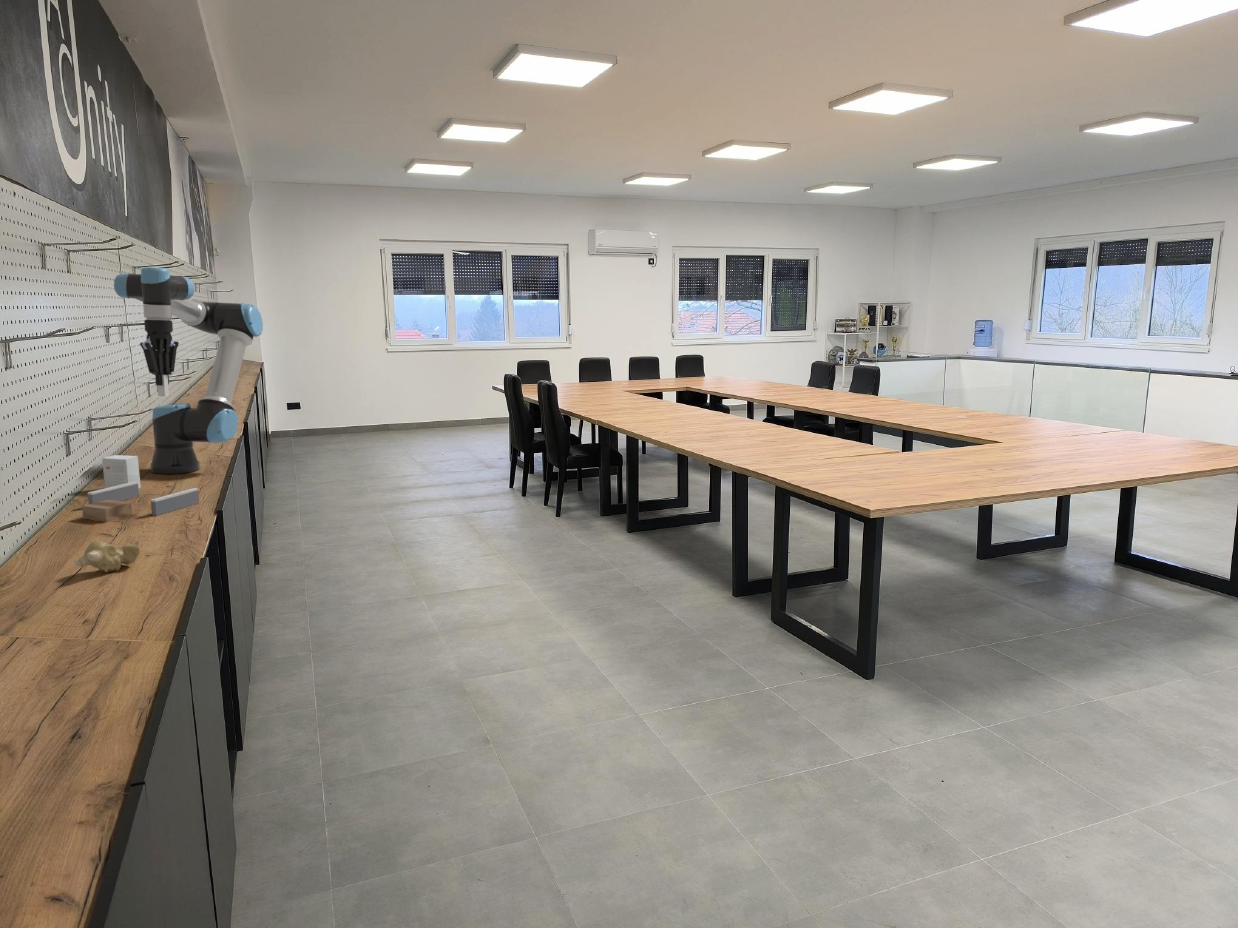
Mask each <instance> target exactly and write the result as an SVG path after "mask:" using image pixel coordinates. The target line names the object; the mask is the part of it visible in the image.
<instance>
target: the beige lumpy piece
mask: <svg viewBox="0 0 1238 928" xmlns="http://www.w3.org/2000/svg"><path fill="white" fill-rule="evenodd" d="M140 545H141V544H140V540H137V541H136V542H133V543H129V544H126V545H123V546H122V545H121V546H119V547H118V548H116V546H115V545H114V544H109V543H108V542H105V541H104V540H103V541H102V540H94V541H92V542H91V543H90V544H88V546H87V547H86V548H85V550H84V554H83V556H80V557H79V558H78V559H75V560H73V563H74V564H75V565H76V566H79V567H84V566H85V567H86V566H92V568H96V569H99V570H103V572H105V573H108V572H113V571H114V572H115V571H116V572H117V571H120V569H121V567H122V564H124V565H126V566H129V565H131V564H133V563H134V562H136V559H137V558H138V557H139V556H140V550H141V548H140V547H141V546H140Z"/></svg>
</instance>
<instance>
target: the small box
mask: <svg viewBox="0 0 1238 928" xmlns="http://www.w3.org/2000/svg"><path fill="white" fill-rule="evenodd" d="M101 459H102V460H101V461H102V470H103V480H104V489H105V488H109V487H113V486H117V485H122V484H126V483H130V482H138V488H139V490H140V489H141V479H140V477H141V476H140V468H139V467H140V466H139V457H138V455H124V454H123V455H121V454H114V455H109V456H105V457H103V458H101Z"/></svg>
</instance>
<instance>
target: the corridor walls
mask: <svg viewBox="0 0 1238 928" xmlns="http://www.w3.org/2000/svg"><path fill="white" fill-rule="evenodd" d="M139 491H140V489H139V488H138V482H130V483H126V484H122V485H117V486H113V487H109V488H105V487H104V488H102V489H97V490H93V491H88V492H87V499H88V500H87V501H88V504H92V503H96V502H101V501H105V500H115V501H122V502H125V501H127V500H126V499H128V500H130V499H131V498H132V499H135V498H138V497H140V492H139ZM199 497H200V496H199V488H196V487H193V488H189V489H186V490H182V491H178V492H175V493H170V494H167V495H164V496H159V497H156V498H152V499H150V509H151V516H153V517H159V516H161V515H165V514H167V513H171V512H174V511H178V510H181V509H184V508H188V507H191V506H194V505H198V504H200V498H199ZM132 499H131V500H132Z"/></svg>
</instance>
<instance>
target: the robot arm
mask: <svg viewBox="0 0 1238 928" xmlns="http://www.w3.org/2000/svg"><path fill="white" fill-rule="evenodd" d="M140 270H141V271H140V274H139V273H120V274H117V275H116V276H115V277H114V280H113V287H114V291H115V293H116V295H118V296H119V297H121V298H123V299H124V298H125V299H136V300H138V301H141V302H142V303H143V304H142V305H143V307H142V308H143V317H144V318H146V319H144V321H143V322H144V323H143V325H144V331H145V332H146V333H147V335H146V340H145V341H144V342H140V343H139V345H140V347H141V349H142V351H143V353H144V354H143V355H144V357H145V362H146V365H147V369H148V372H149V373H150V374H151V375H152V376H153V375H154V376H155V385H156V386H157V396H158V397H169V396H170V393H169V385H170V377H169V376H171V375H173V373H174V371H175V367H176V366H175V365H176V360H177V359H176V357H177V349H178V347H179V345H180V344H179V343H180V342H179V341H175V340H174V339H173V336H172V332H173V331H174V326H173V321H172V320H171V319H172V318H173V316H174V317H176V318H178V319H180V320H181V322H182V323H184V324H185V325H187V326H189V327H191V328H194V329H197V330H199V331H202V332H205V333H207V334H211V335H217V337H218V338H219V339H220V341H219V344H218V348H217V352H216V355H215V358H214V362H213V365H212V368H211V369H212V370H211V373H210V376H209V380H208V384H207V387H206V391H205V395H204V396H203V397H202V398H200V399H198V402H197V406H196V407H192V406H191V404H190V403H189V402H185V403H182V402H181V403H172V404H165V405H159V406H156V407H154V408H153V410H152V427H153V428H152V429H153V439H154V441H153V442H154V452H153V455H152V460H151V463H150V465H149V466H150V467H149V468H150V472H151V473H153V474H158V475H175V474H186V473H193V472H196V471H199V470H200V468H201V467H200V466H201V465H200V461H199V460H198V458H197V454H196V452H195V450H194V443H195V442H196V443H212V444H217V443H218V444H219V443H222V444H223V443H227V442H229V441H231V440H232V439H233V438H234V436H236V433H237V432H238V431H237V430H238V427H239V422H238V421H239V416H238V414H237V412H236V411H235V407H234V406H233V404H232V402H233V398H234V394H235V390H236V387H237V383H238V380H239V374H240V371H241V367H242V363H243V360H244V356H245V353H246V348H247V346H248V347H249V346H250V345H252V343H253V341H254V337H255V338H257V337H260V336H261V335H262V334H263V330H264V327H263V326H264V324H263V323H264V322H263V318H262V314H261V312H260V309H258V307H257V306H255V304H250V303H244V302H241V303H237V302H236V303H233V302H213V301H211V302H210V301H208V302H207V301H201V300H198V299H194V298H192V297H193V296H194V294H195V290H196V288H195V284H194V283H193V281H192V280H191V279H190V278H189V277H187V276H182V275H170V271H169V270H168V269H167V268H165V267H151V266H150V267H148V266H145V267H141V269H140ZM193 442H194V443H193Z"/></svg>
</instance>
